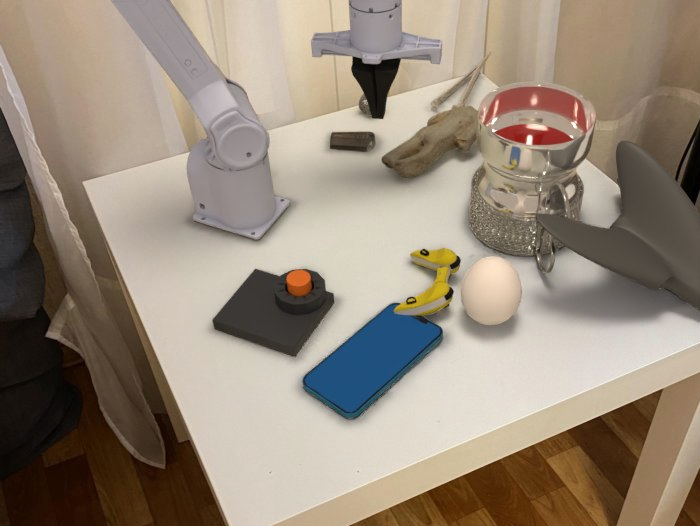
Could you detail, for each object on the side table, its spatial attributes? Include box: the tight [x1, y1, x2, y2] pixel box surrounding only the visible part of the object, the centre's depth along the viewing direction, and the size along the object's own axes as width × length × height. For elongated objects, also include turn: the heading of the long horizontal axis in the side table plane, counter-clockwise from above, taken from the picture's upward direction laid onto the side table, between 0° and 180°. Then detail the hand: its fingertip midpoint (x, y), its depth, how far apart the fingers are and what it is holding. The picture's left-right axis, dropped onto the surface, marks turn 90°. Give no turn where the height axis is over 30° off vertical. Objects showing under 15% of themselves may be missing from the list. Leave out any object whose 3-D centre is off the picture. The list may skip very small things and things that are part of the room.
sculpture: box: [381, 105, 478, 178], centre depth 110 cm, size 7×5×15 cm
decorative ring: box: [358, 93, 372, 117], centre depth 117 cm, size 3×2×3 cm
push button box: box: [211, 268, 335, 357], centre depth 92 cm, size 10×10×3 cm
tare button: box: [286, 269, 312, 296], centre depth 91 cm, size 3×3×2 cm
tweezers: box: [430, 51, 492, 110], centre depth 122 cm, size 17×5×2 cm, turn 154°
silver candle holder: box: [468, 80, 597, 275], centre depth 95 cm, size 13×18×15 cm
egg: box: [460, 255, 523, 326], centre depth 89 cm, size 6×6×8 cm
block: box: [329, 131, 376, 153], centre depth 113 cm, size 4×6×2 cm, turn 87°
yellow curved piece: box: [394, 247, 462, 317], centre depth 94 cm, size 10×4×10 cm
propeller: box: [536, 140, 700, 311], centre depth 90 cm, size 23×25×9 cm
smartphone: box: [301, 302, 444, 419], centre depth 87 cm, size 7×1×15 cm
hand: (378, 114), depth 101 cm, fingers closed
